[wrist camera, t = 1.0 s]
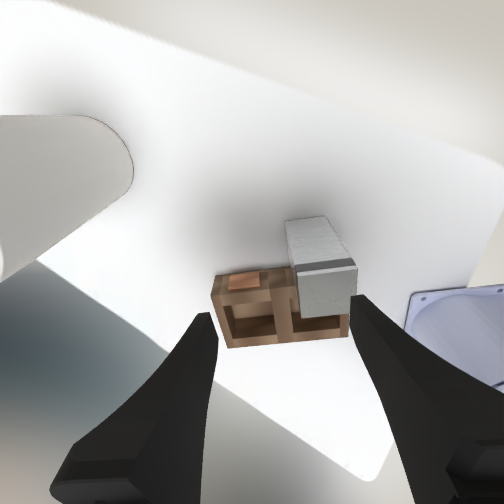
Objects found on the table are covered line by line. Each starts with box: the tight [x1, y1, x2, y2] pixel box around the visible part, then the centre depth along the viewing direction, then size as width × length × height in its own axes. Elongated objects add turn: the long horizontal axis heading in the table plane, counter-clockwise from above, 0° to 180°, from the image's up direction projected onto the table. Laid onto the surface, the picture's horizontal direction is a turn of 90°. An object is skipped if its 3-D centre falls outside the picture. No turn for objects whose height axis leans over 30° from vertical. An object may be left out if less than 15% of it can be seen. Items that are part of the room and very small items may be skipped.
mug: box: [0, 115, 133, 283], centre depth 14 cm, size 10×7×12 cm, turn 139°
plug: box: [285, 216, 358, 318], centre depth 18 cm, size 3×3×8 cm
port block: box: [211, 266, 349, 348], centre depth 24 cm, size 12×7×3 cm, turn 100°
